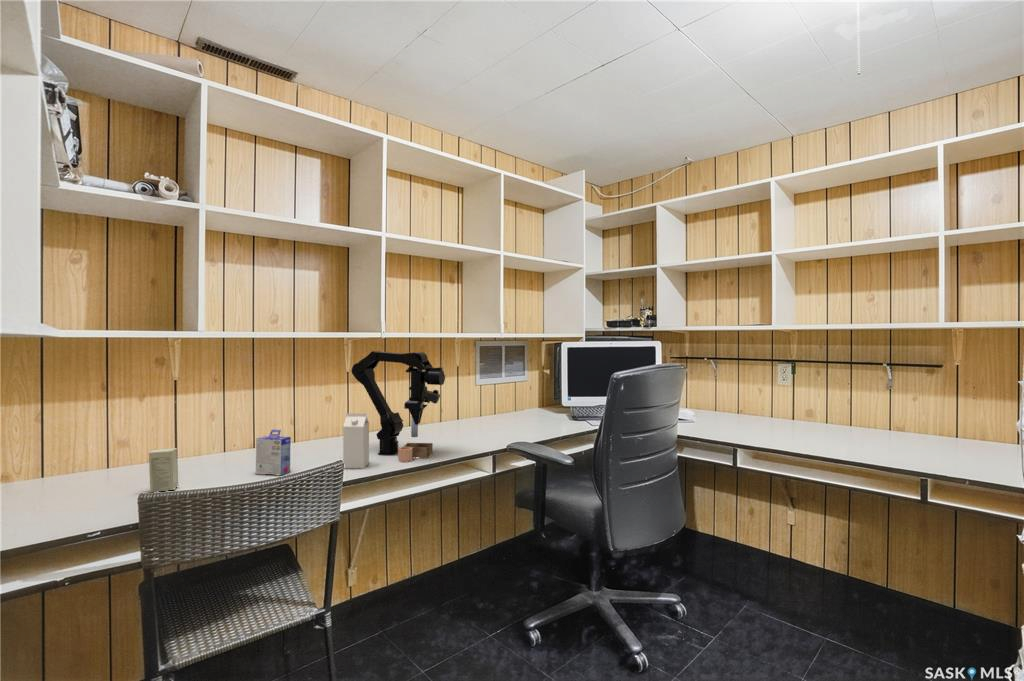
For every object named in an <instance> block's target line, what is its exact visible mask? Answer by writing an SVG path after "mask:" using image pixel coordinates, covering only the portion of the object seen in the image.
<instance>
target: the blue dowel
mask: <svg viewBox="0 0 1024 681" xmlns="http://www.w3.org/2000/svg"><path fill="white" fill-rule="evenodd" d="M410 417H411V419H410V420H411V422H410V424H411V426H410V427H411V429H410V430H411V431H410V432H411V435H410V436H411V438H418V437H419V424H418V425H416V424H415V422H414V420H413V418H412V416H410Z"/></svg>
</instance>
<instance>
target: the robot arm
mask: <svg viewBox="0 0 1024 681" xmlns="http://www.w3.org/2000/svg"><path fill="white" fill-rule="evenodd" d="M379 362H388V363H399V364H402V365H403V364H404V365H405V366H409V367H408V368H406V369H405V373H410V386H409V387H408V389H409V390H410V397H409V398H408V400H407V401H405V402H404V404H403V405H404V407H403V408H404V409H407V410H408V412H409V414H410V415H411V416H412V418H413V420H414V422H415V424H416V425H418V426H419V424H420V423H421V421H422V417H423V413H424V409H425V408H427V407H428V404H430V403H432V404H434V405H435V404H437V403H439V399H440V398H441V394H440V393H439V390H437V389H434V390H428V387H427V386H426V384H427V385H432V386H433V385H434V386H443V385H444V384H445V380H446V375H445V372H444V367H434V366H433V365H432V363H431V362H430V361H429V359H428V356H427V354H426V353H425V352H424V351H416V352H406V353H404V352H403V353H402V352H390V351H380V350H373V351H371V352H370V353H369V354H367V355H366V356H365V357H363V358H362V359H360V360H359V361H357V362H356V363H354V364H353V366H352V368H351V370H350V371H351V374H352V375H353V377H354V378H355V380H356V381H357V382H359V383H360V384H361V385H362V386H363V387H364V388H365V391H366V393H367V394H368V396H369V398H370V400H371V403H372V404H373V406H374V408H375V409H376V412H377V414H378V415H379V419H380V421H379V422H380V423H379V424H380V426H381V429H380V430H378V432H377V433H376V434H375V435H376V438H377V440H379V452H378V453H377V455H379V456H380V455H385V456H386V455H387V456H388V455H389V456H391V455H392V456H393V455H396V454H398V448H399V440H398V437H399V436H400V433H401V432H402V431H403V430H404V429H403V428H404V420H403V419H402V417H401V415H400V413H399V412H393V411H392V410H391V408H390V405H389V403H387V400H386V398H385V397H384V395H383V393H382V391H381V389H380V387H379V386H378V383H377V382H376V379H375V378H376V376H375V375H376V374H375V371H374V369H375V368H376V367H377V366H378V364H379ZM425 403H427V404H425ZM411 416H410V417H411Z"/></svg>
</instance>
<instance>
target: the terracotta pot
mask: <svg viewBox="0 0 1024 681" xmlns="http://www.w3.org/2000/svg"><path fill="white" fill-rule="evenodd" d="M397 459H398V460H399V461H402V462H401V463H407V462H406V461H410V462H412V461H413V459H414V458H413V448H412V447H404V446H400V447H398V452H397ZM411 460H412V461H411ZM399 461H398V462H399Z"/></svg>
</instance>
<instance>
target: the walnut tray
mask: <svg viewBox="0 0 1024 681" xmlns="http://www.w3.org/2000/svg"><path fill="white" fill-rule="evenodd" d="M403 447H412V448H413V457H415V458H414V459H417V458H416V457H419V458H418V459H429V458H430V457H431V456H432V454H433V442H407V443H406V444H405V445H404V446H403ZM430 455H431V456H430ZM429 456H430V457H429ZM421 457H422V458H421Z"/></svg>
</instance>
